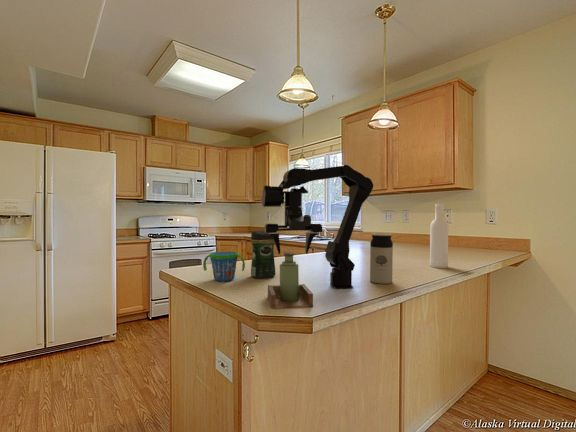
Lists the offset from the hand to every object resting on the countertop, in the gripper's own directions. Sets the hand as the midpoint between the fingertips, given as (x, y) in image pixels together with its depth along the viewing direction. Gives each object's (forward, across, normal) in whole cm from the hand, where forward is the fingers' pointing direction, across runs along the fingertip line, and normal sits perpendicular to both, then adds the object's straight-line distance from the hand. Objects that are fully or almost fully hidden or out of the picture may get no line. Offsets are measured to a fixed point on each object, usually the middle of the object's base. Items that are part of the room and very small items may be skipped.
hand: (293, 253), depth 104 cm
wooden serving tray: (+12, -4, -14) cm, 19 cm away
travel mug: (+12, +35, +6) cm, 37 cm away
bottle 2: (+12, +77, +32) cm, 85 cm away
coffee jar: (+12, -8, +22) cm, 27 cm away
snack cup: (+12, -23, +19) cm, 32 cm away
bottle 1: (+11, -4, -14) cm, 18 cm away
